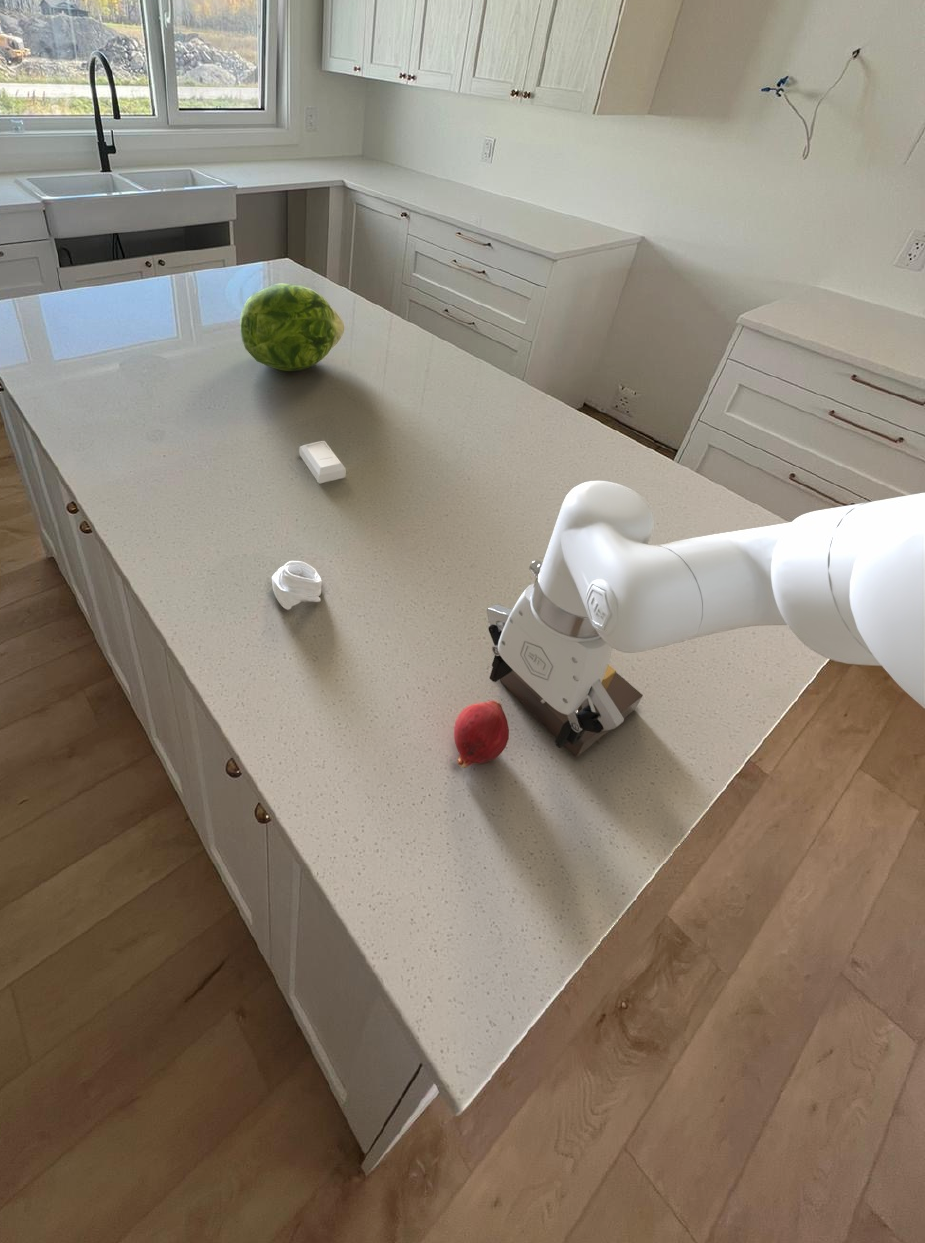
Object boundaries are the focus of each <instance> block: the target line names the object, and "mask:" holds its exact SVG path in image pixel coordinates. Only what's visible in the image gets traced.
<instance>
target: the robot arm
mask: <svg viewBox="0 0 925 1243" xmlns="http://www.w3.org/2000/svg"><path fill="white" fill-rule="evenodd" d="M655 524H656V521H655V514H654V511H653V508H652V507H651V505H650V504H649V502H648V501H647V500H646V499H645V498H644V497H643V496H642V495H641V494H639V493H638V492H637V491H635V490H633V489H631V488H630V487H627V486H625V485H623V484H620V483H616V482H614V481H613V482H612V481H606V480H589V481H585V482H581V483H579V484H578V485H576V486H574V487H573V488H572V489H571V490H570V491H568V493H567V494H566V495H565V498H564V499H563V501H562V504H561V506H560V510H559V512H558V516H557V518H556V522H555V525H554V527H553V531H552V534H551V537H550V540H549V543H548V546H547V548H546V552H545V555H544V558H543V561H541V560H540V559H538V558H537V559H534V560H533V561H532V562H531V563H530V565H529V566H528V570H529V571H531V572H532V573H533V576H534V577H535V579H534V583H531V584H530V585H528V586H527V587H526V588H525V589H524V591H523V592H522V593H521V594H520V596H519V598H518V599H517V601H516V603H515V604H514V606H513V608H509V607H506V606H503V605H500V604H499V603H498V604H497V603H495V604H493V605H491V606H489V607H488V608H486V616H487V619H488V624H489V626H488V628H487V629H488V630H487V631H488V632H489V635H490V637H491V640H492V643H493V646H491V651H492V653H493V654H494V657H493V660H492V663H491V667H492V669H491V672H490V674H489V675H490V676H489V680H491V682H492V683H497V682H499V681H500V679H501V678H503V677H504V676H506V675H507V674H509V673H510V672H511V671H512V670H514V671H515V672H516V673H517V674H518V675H519V676H520V677H521V678H522V679H523V680H524V681H525V682H526V683H527V684H528V685H529V686H530V687H531V688H532V689H533V690H534V691H535V692H536V693H538V694H539V695H540V696H541V697H542V698H543V699H544V700H545V701H546V702H547V703H548V704H549V705H550V706H552V707H553V708H554V709H556V710H557V711H559V712H560V713H563V714H566V715H567V717H568V720H567V721H566V722H565V723H564V724H563V726H562V728H561V730H560V733H559V735H558V737H556V739H555V741H554V743H555V746H556V747H557V748H558V749H559V750H560V749H562V748H563V747H565V744H567V743H568V742H569V743H570V744H571V745H574V744H575V743H577V742H578V741H579V740H580V739H581V737H582V736H583V734H584V732H585V731H590V732H595V733H599V732H601V731H604V730H605V731H606V730H609V731H611V730H614V729H616V728H618V727H619V726H620V725H621V724H623V723H624V721H625V718H623V716H622V715H621V713H620V711H619V710H618V708H617V707H616V705H615V704H614V702H613V701H612V699H611V698H610V696H609V695H608V693H607V691H606V690H605V688H604V687H603V685H602V684H601V683H602V680H603V678H604V675H605V672H606V669H607V667H608V665H609V663H610V659H611V656H612V651H613V649H614V650H616V651H618V652H622V653H628V654H635V653H636V654H637V653H643V652H647V651H652V650H655V649H659V648H664V647H668V646H672V645H676V644H680V643H684V642H686V641H691V640H694V639H698V638H702V637H706V636H707V637H708V636H711V635H714V634H720V633H723V632H728V631H733V630H738V629H742V628H749V627H759V626H760V627H762V626H788V628H789V630H790V631H791V632H792V633H793V634H794V636H796V638H797V639H798V640H799V641H800V642H801V643H802V644H803V645H804V646H806V647H807V648H808V649H810V650H811V651H812V652H814V653H816V654H817V655H820V656H821V657H823V658H825V659H828V660H830V661H834V662H837V663H842V664H848V665H858V666H878V667H882V668H883V669H884V670H885V671H886V673H887V674H888V675H889V676H890V678H892V680H893V681H894V682H895V683H896V684H897V685H898V686H899V687H900V688H901V689H902V690H903V691H904V692H905V693H906V694H908V695H909V697H910V698H912V699H913V700H914V701H915V702H916V703H918V704H919V705H920V706H921V707H922V708H923V709H925V492H920V493H913V494H910V495H909V494H908V495H903V496H896V497H891V498H885V499H880V500H879V499H878V500H874V501H866V502H860V503H855V504H850V505H849V504H848V505H843V506H837V507H831V508H824V509H819V510H818V509H817V510H813V511H810V512H806V513H803V514H801V515H798V517H796V518H794V520H792V521H790V522H784V523H778V524H773V525H766V526H759V527H753V528H745V529H739V530H734V531H727V532H720V533H714V534H708V535H702V536H696V537H690V538H685V539H679V540H674V541H673V540H672V541H668V542H664V543H659V544H658V543H657V544H649V543H650V540H651V538H652V535H653V533H654V530H655V526H656V525H655ZM593 704H594V705H595V707H596V708H597V710H598V711H599V713H597V712H596V711H595V708H594V705H593ZM580 705H581V707H582V710H581V711H579V712H578V708H579V707H580ZM610 729H611V730H610Z"/></svg>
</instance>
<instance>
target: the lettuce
mask: <svg viewBox="0 0 925 1243" xmlns="http://www.w3.org/2000/svg"><path fill="white" fill-rule="evenodd" d="M239 333H240V337H241V342H242V345H243V346H244V349H245V350H246V351H247V352H248V353H249V355H250V356H251V357H252V358H253V359H254V360H255V361H256V362H257V363H260V364H262V365H264V366H267V367H270V368H272V369H276V370H279V371H282V372H296V371H297V372H298V371H303V370H307V369H310V368H311V367H313V366H315V365H316V364H318V363H319V362H321V361H322V360H323V359H324V358H325V357H326V356H327V355H329V353H330V351H331V350H332V349H333V348H334V347H335V346H336V345H337V344H338V343H339V342H340V340H341V339H342V337H343V335H344V333H345V323H344V321H343V319H342V317H341V316H340V315H339V313H338V312H337V311H336V310H335V309H333V308H332V307H331V305H330V304H329V302H328V301H327V300H326V299H325V298H324V297H323V296H322V295H320V294H319V293H318V292H317V291H316V290H313V289H311V288H310V287H307V286H304V285H298V284H291V283H285V282H284V283H283V282H281V283H274V284H271V285H269V286H267V287H265V288H263V289H261V290H259V291H257V292H254V293H252V294H251V295H250V296H249V297H248V298H247V300H246V301H245V302H244V305H243V306H242V309H241V312H240V316H239Z"/></svg>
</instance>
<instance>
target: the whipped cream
mask: <svg viewBox="0 0 925 1243" xmlns="http://www.w3.org/2000/svg"><path fill="white" fill-rule="evenodd" d="M299 575H300V576H299ZM271 584H272V591H273V594H274V596H275V599H276V600H277V602H278V603H279V605H280V606H281V607H283V608H284V609H285V610H287V611H290V610H291V609H292V607H295V606H296V605H298V604H300V603H301V602H305V603H307V602H314V603H320V602H321V600H322V599H321V597H319V596H321V594H322V586H323V585H322V584H323V581H322V578H321V576H320V574H319V573H318V571H317V569H316V568H315V567H313V566H312V565H310V564H308V563H307V562H305V561H301V560H290V561H288V562H286V563H284V565H283V566H281V567H278V569H277V570H276V571H275V572H274V573H273V575H272V576H271Z"/></svg>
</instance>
